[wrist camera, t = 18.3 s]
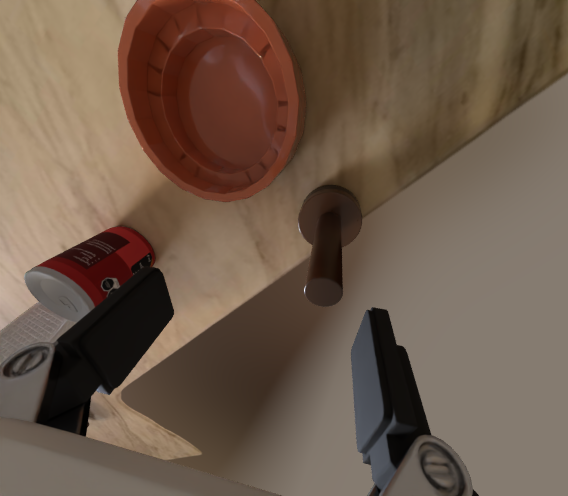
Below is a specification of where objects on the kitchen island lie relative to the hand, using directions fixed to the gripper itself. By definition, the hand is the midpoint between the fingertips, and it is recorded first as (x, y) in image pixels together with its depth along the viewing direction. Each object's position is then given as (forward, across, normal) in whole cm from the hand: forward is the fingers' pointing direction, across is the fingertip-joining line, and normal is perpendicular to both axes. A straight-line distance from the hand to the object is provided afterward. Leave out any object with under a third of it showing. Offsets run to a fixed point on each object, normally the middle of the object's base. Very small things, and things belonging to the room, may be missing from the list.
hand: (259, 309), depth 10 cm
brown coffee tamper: (+17, -3, +2) cm, 17 cm away
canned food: (+17, +25, +12) cm, 33 cm away
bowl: (+17, +8, -7) cm, 20 cm away
